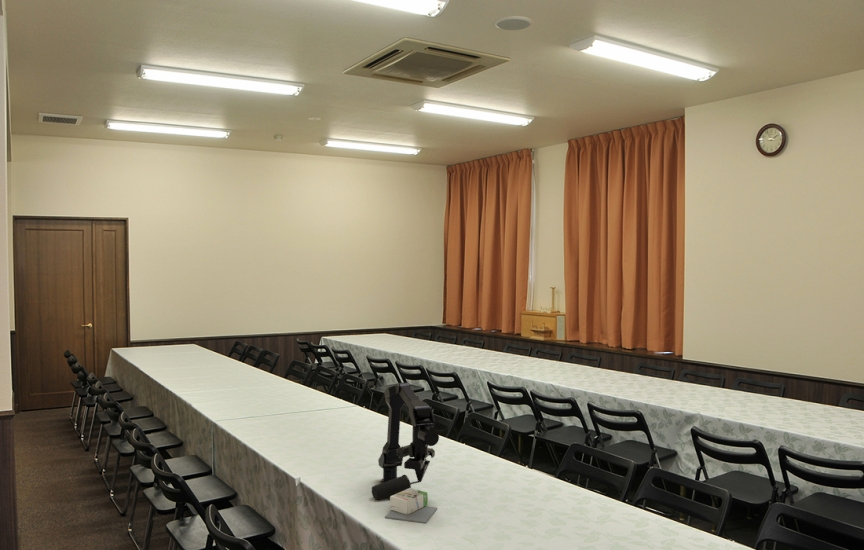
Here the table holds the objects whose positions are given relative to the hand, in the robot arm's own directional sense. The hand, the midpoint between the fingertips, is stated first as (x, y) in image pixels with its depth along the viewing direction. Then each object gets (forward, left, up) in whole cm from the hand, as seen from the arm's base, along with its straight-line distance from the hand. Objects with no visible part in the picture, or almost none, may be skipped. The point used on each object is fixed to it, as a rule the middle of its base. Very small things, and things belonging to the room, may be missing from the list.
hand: (419, 481), depth 233 cm
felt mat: (+7, -1, -9) cm, 12 cm away
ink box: (-2, -1, -6) cm, 6 cm away
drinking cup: (-1, -19, -6) cm, 20 cm away
